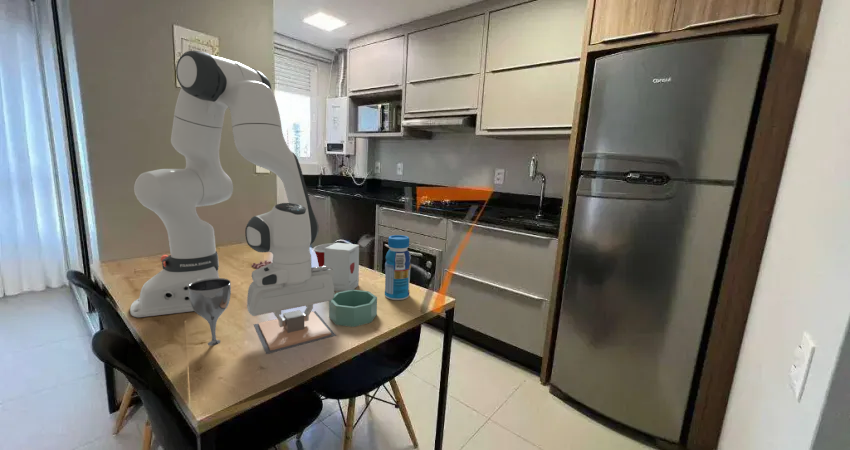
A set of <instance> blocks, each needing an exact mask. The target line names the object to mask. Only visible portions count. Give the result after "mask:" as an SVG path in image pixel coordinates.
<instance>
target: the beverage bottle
mask: <svg viewBox="0 0 850 450" xmlns="http://www.w3.org/2000/svg"><path fill="white" fill-rule="evenodd" d="M387 242H388V243H387V245H388V246H387V247H388V248H389V249H388V251H387V252H386V253H385V254H386V255H385V263H384V269H385V270H384V271H385V272H384V273H385V276H384V279H385V280H384V284H385V285H384V296H385V298H387V299H389V300H393V301H403V300H406V299H408V298H409V297H410V280H411V268H412V263H411V259H412V256H411V253H410V251H409V249H408V248H410V237H409V236H407V235H401V234H393V235H390V236H388V241H387Z"/></svg>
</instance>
